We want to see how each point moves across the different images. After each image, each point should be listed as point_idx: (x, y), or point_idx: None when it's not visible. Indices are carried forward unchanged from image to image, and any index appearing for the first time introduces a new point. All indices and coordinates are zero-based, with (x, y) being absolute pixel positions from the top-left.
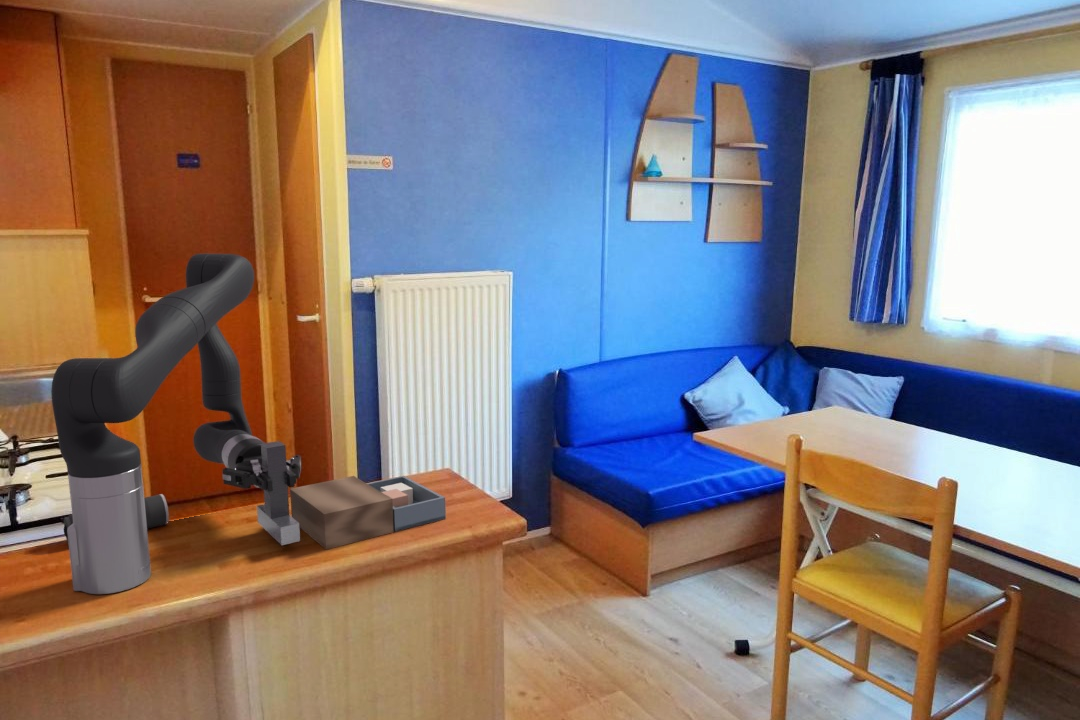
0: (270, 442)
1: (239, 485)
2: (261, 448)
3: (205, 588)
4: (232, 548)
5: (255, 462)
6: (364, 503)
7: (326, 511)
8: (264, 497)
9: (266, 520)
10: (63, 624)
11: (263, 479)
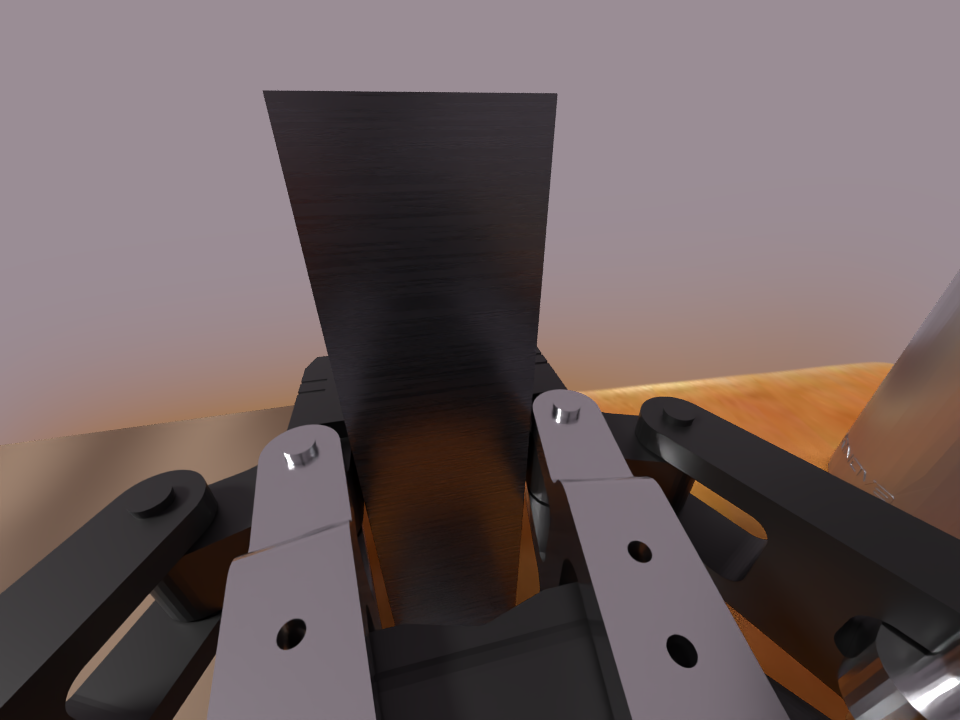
0: (414, 93)
1: (716, 515)
2: (545, 163)
3: (639, 409)
4: None
5: (687, 697)
6: (106, 442)
7: (285, 420)
8: (516, 564)
9: None
10: (855, 378)
11: None
